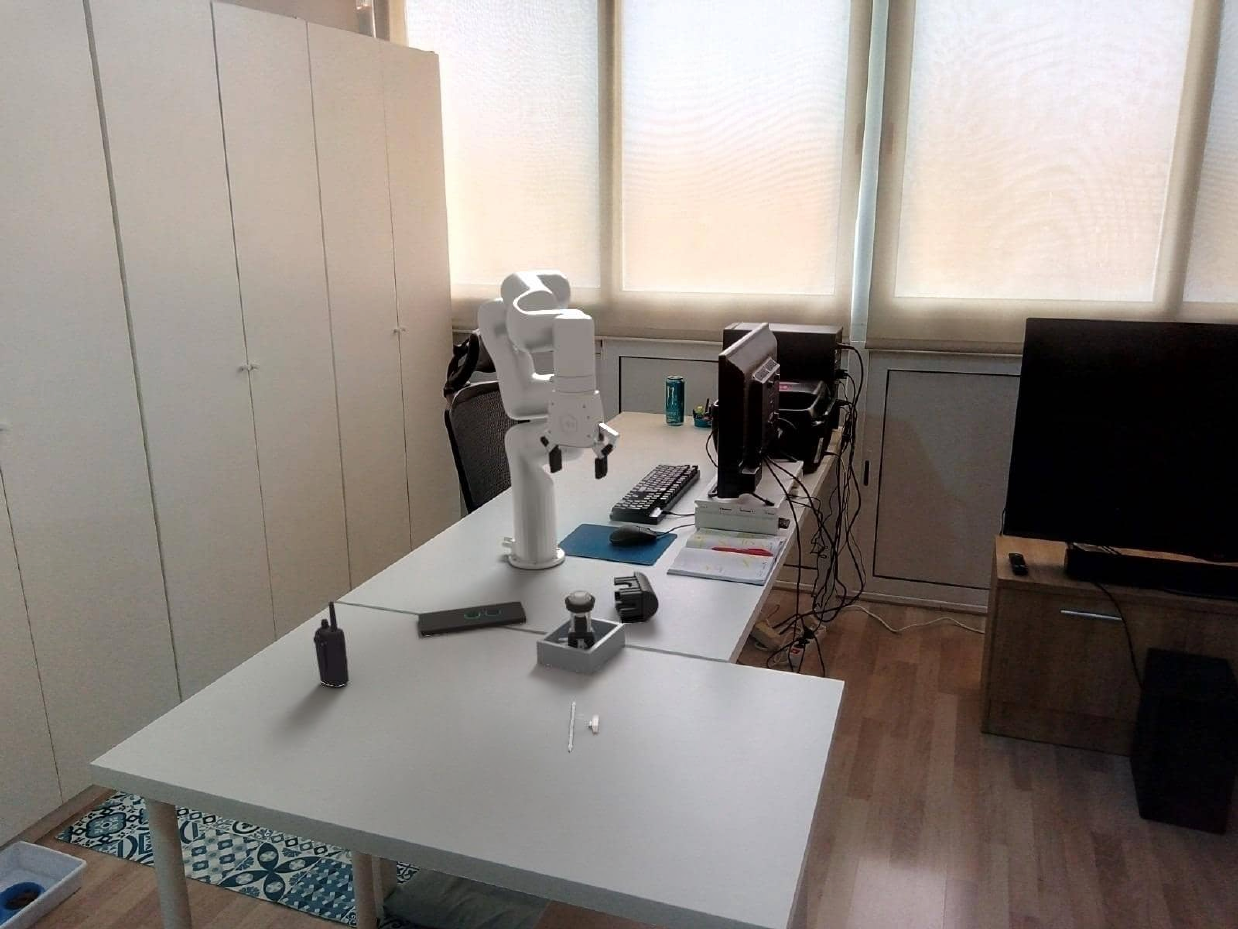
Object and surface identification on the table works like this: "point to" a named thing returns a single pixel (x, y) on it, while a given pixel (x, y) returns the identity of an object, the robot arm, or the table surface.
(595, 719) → the picture light
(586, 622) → the push button
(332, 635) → the two-way radio
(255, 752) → the table surface
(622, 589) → the end cap
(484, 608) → the smart home device
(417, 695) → the table surface
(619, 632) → the rectangular tray
